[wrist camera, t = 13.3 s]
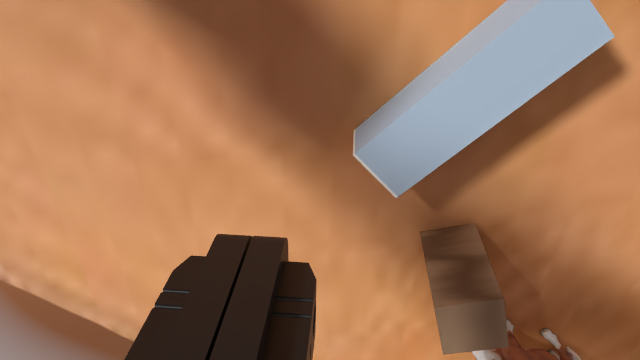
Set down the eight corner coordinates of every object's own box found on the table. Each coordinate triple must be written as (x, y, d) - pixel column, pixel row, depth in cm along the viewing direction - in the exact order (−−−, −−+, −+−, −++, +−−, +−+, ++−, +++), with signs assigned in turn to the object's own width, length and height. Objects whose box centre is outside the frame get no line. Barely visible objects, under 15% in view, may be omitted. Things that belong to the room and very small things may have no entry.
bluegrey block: (395, 198, 37) (614, 36, 30) (352, 155, 35) (572, -25, 29) (392, 169, 41) (582, 22, 34) (353, 130, 40) (544, -32, 33)
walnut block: (427, 273, 46) (443, 354, 37) (420, 231, 44) (434, 307, 35) (480, 266, 45) (508, 347, 37) (475, 223, 43) (504, 298, 34)
